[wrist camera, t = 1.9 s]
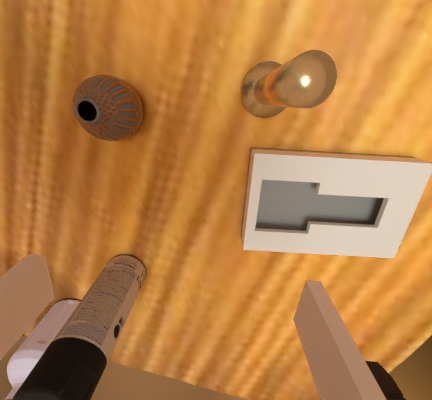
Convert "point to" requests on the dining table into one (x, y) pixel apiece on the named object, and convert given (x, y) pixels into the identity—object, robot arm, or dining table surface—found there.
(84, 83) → the vase
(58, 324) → the soap bottle
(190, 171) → the dining table surface
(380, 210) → the board
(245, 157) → the dining table surface
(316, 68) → the peg
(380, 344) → the dining table surface
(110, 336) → the spray can
